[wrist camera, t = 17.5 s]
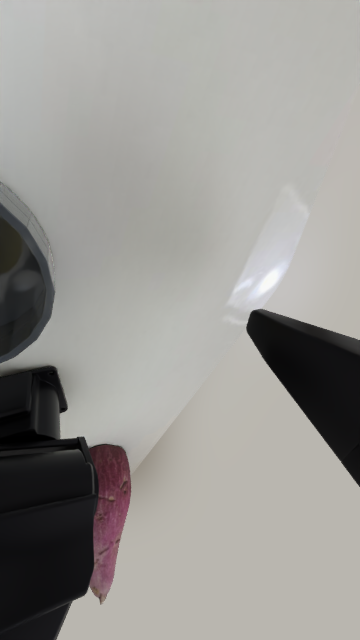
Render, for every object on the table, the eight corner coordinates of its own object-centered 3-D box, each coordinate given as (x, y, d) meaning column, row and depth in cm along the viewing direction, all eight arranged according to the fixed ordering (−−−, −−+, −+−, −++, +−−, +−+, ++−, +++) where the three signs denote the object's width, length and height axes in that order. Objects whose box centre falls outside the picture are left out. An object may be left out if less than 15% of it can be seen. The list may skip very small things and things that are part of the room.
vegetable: (108, 458, 41) (131, 572, 33) (41, 479, 34) (49, 630, 26) (135, 434, 36) (171, 563, 27) (63, 452, 29) (82, 632, 20)
